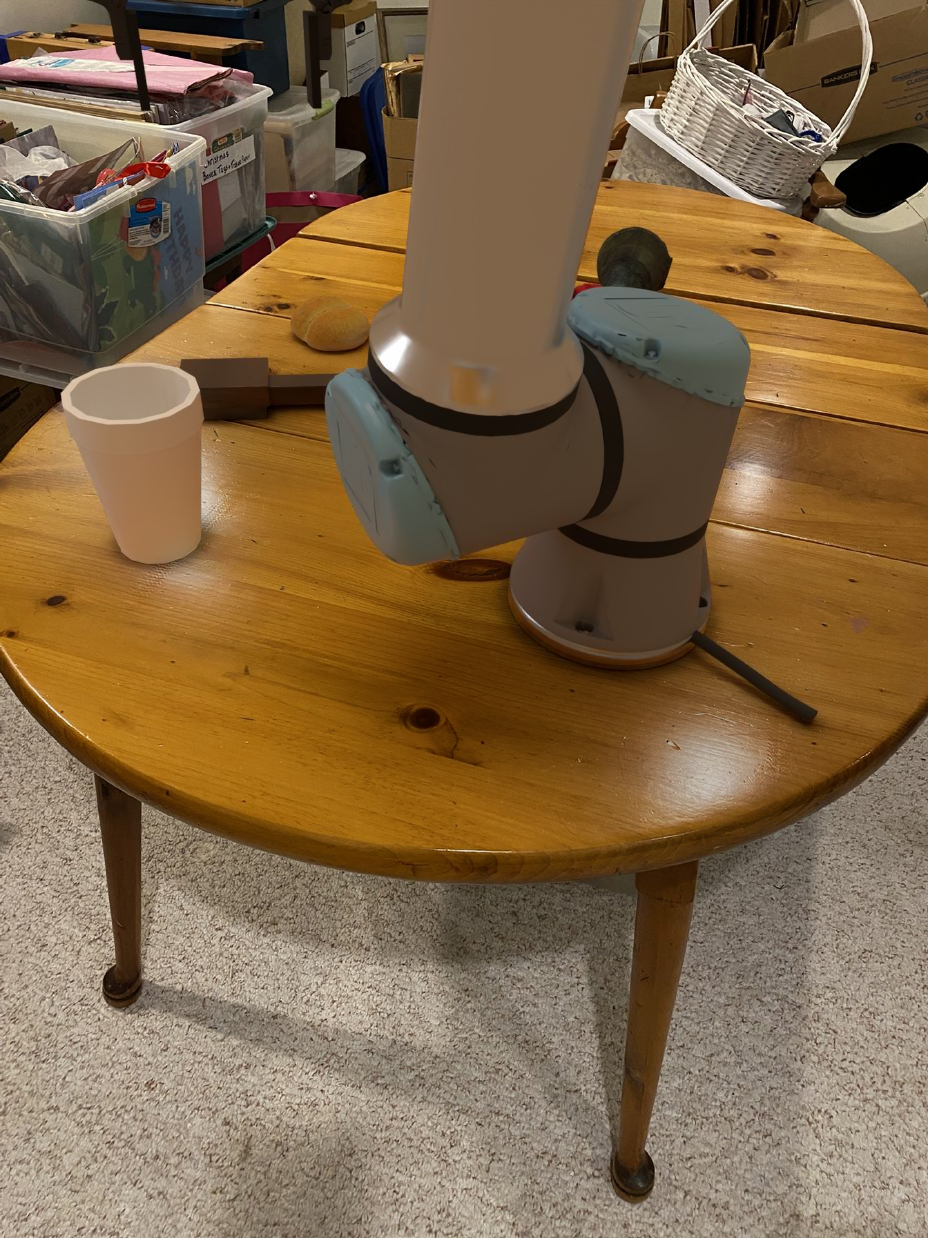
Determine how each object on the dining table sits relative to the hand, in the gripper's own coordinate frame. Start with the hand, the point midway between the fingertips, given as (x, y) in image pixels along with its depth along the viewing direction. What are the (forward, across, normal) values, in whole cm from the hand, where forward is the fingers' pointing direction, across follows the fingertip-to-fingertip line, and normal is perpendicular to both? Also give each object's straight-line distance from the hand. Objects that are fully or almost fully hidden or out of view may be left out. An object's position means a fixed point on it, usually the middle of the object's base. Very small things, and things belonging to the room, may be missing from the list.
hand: (232, 106), depth 76 cm
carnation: (+26, -37, -5) cm, 46 cm away
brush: (+26, -1, +1) cm, 26 cm away
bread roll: (+26, -10, -14) cm, 31 cm away
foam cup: (+27, +11, +22) cm, 36 cm away
